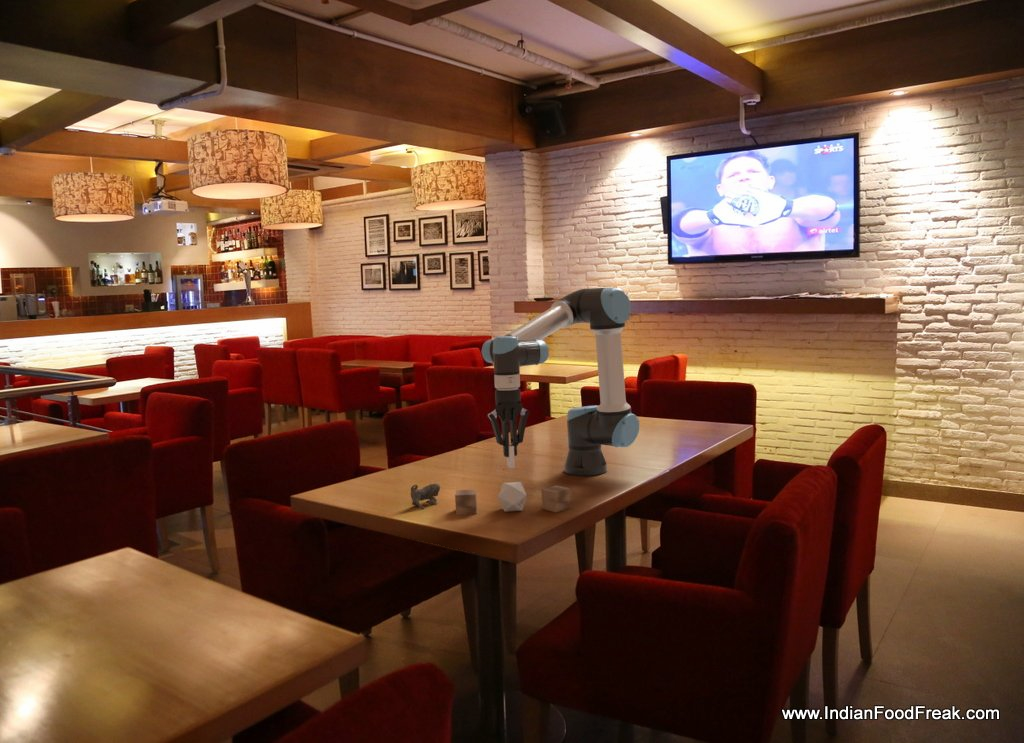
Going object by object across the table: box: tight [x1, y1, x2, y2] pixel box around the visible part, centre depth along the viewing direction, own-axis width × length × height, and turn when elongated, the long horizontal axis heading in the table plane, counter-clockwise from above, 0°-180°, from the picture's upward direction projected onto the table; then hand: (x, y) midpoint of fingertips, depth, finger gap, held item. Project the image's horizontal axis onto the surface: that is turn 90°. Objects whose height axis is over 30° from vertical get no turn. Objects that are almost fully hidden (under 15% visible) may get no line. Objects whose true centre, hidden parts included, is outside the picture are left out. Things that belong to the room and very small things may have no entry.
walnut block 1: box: [454, 488, 478, 516], centre depth 235 cm, size 6×6×6 cm
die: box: [497, 481, 528, 513], centre depth 235 cm, size 8×9×10 cm
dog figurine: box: [410, 483, 441, 510], centre depth 245 cm, size 12×6×7 cm, turn 138°
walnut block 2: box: [541, 485, 572, 513], centre depth 234 cm, size 6×6×6 cm
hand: (510, 467), depth 234 cm, fingers closed
